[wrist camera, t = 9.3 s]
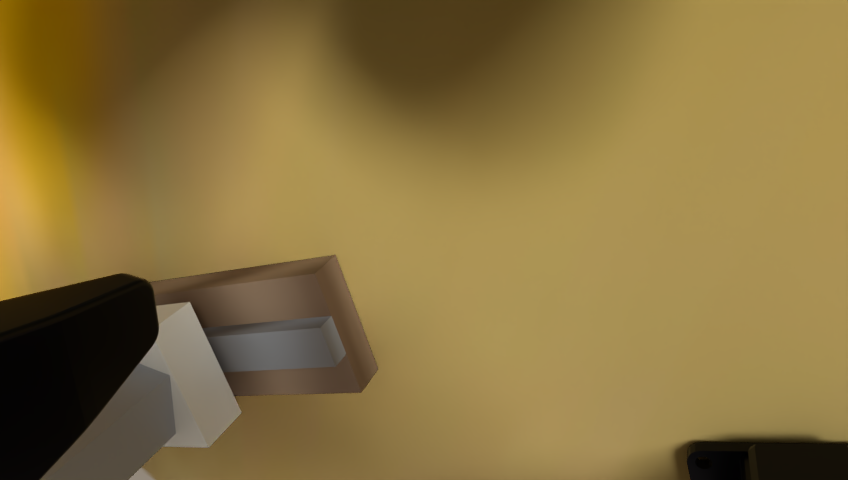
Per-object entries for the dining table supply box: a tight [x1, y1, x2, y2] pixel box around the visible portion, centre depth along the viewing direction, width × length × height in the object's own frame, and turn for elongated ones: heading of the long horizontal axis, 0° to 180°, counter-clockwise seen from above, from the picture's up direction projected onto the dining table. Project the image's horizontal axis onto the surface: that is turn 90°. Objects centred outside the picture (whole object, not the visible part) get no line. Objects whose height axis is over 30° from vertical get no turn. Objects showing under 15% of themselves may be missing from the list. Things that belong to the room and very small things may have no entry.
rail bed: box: [150, 255, 378, 396], centre depth 24 cm, size 12×5×6 cm, turn 108°
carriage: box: [40, 302, 242, 480], centre depth 20 cm, size 4×5×10 cm
